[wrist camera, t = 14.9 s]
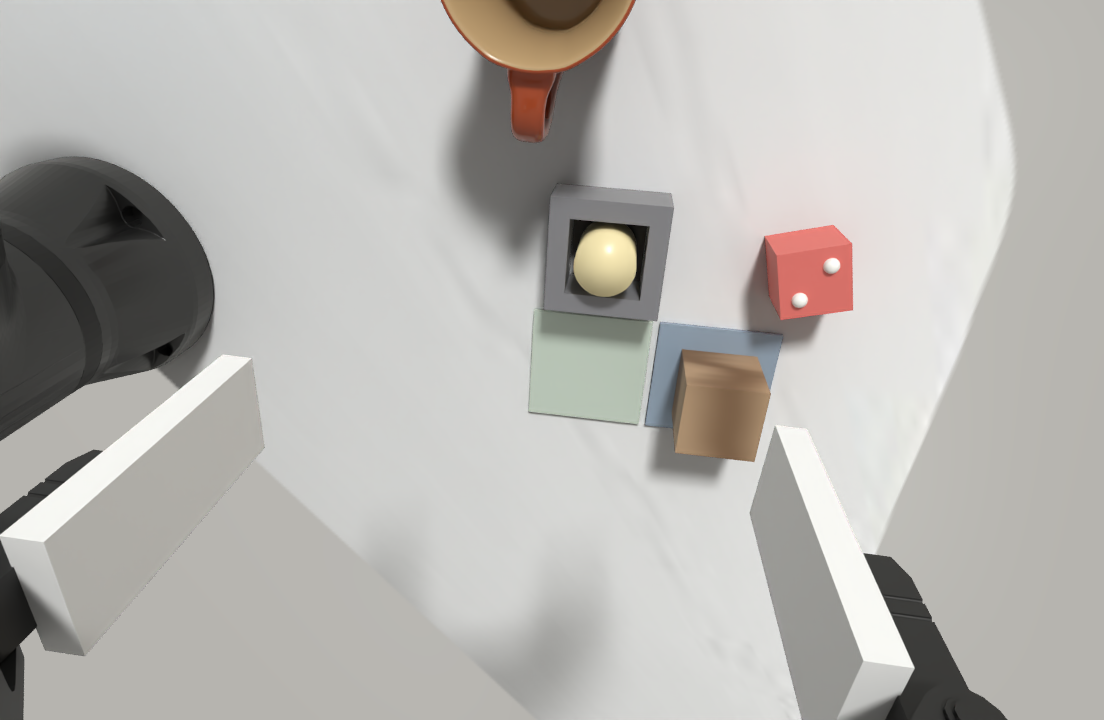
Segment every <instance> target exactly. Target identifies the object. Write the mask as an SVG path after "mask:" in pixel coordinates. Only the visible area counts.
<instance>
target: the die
mask: <svg viewBox="0 0 1104 720" xmlns="http://www.w3.org/2000/svg"><path fill="white" fill-rule="evenodd" d="M765 247H766V261H767V275H768V290H769V297H770V299H771V301H772V303H773V305H774V307H775V309H776V311H777V313H778V315H779V317H780V320H785V319H793V318H800V317H807V316H814V315H821V314H829V313H836V312H843V311H850V310H853V278H852V243H851V242H850V241H849V240H848V239H847V238H846V237H845V236H844V235H843V234H842V233H841V232H840V231H839V230H838V229H837V228H836V227H835V226H834V225H830V226H824V227H818V228H812V229H805V230H799V231H793V232H787V233H781V234H775V235H769V236H765Z"/></svg>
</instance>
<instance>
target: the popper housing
mask: <svg viewBox="0 0 1104 720" xmlns="http://www.w3.org/2000/svg"><path fill="white" fill-rule="evenodd" d="M673 211H674V205H673V199H672V194H671V193H661V192H649V191H638V190H626V189H615V188H604V187H592V186H581V185H570V184H558V183H557V185H556V187H555V189H554V191H553V192H552V194H551V196H550V212H549V229H548V246H547V263H546V279H545V296H544V310H553V311H562V312H572V313H582V314H591V315H601V316H611V317H620V318H630V319H640V320H649V321H657V319H658V313H659V306H660V299H661V292H662V285H663V279H664V272H665V265H666V258H667V252H668V245H669V238H670V231H671V224H672V218H673ZM574 219H576V220H587V221H598V222H609V223H620V224H631V225H641V226H647V231H646V238H645V246H644V254H643V261H642V269H641V277H640V281H632V283H631V284H630V286H629V287H628V288H627V289H626V290H624V291H623V292H621V293H619V294H617V295H614V296H610V297H600V296H596V295H593V294H591V293H589V292H587V291H586V290H584V289H583V288H582V287H581V286H580V284H579V283H578V281H577V280H576V277H575V275H571V274H570V265H571V252H572V239H573V226H574Z"/></svg>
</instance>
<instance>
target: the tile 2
mask: <svg viewBox="0 0 1104 720" xmlns="http://www.w3.org/2000/svg"><path fill="white" fill-rule="evenodd" d="M782 340H783V335H782V334H773V333H763V332H754V331H744V330H734V329H725V328H715V327H705V326H696V325H686V324H676V323H666V322H660V328H659V335H658V341H657V348H656V355H655V361H654V368H653V375H652V381H651V388H650V395H649V402H648V408H647V415H646V422H645V425H649V426H658V427H666V428H673V422H672V407H673V401H674V395H675V389H676V383H677V377H678V370H679V364H680V358H681V352H682V349H686V350H696V351H705V352H715V353H725V354H735V355H745V356H755V357H758V360H759V362H760V365H761V368H762V371H763V374H764V376H765V379H766V382H767V385H768V387H769V390H770V388H771V384H772V380H773V376H774V372H775V368H776V364H777V360H778V356H779V352H780V348H781V344H782Z"/></svg>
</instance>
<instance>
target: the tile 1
mask: <svg viewBox="0 0 1104 720" xmlns="http://www.w3.org/2000/svg"><path fill="white" fill-rule="evenodd" d="M652 326H653V321H647V320H637V319H628V318H618V317H608V316H599V315H589V314H579V313H570V312H560V311H550V310H541V309H534V320H533V339H532V358H531V377H530V396H529V412H537V413H546V414H554V415H563V416H571V417H580V418H589V419H597V420H606V421H615V422H623V423H632V424H638V423H639V417H640V410H641V403H642V396H643V389H644V382H645V375H646V368H647V361H648V354H649V347H650V340H651V333H652Z"/></svg>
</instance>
